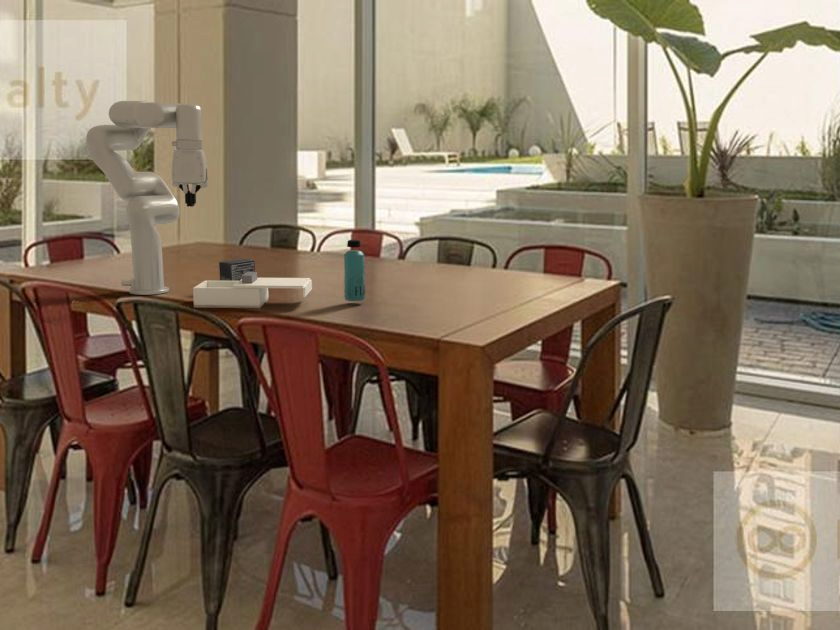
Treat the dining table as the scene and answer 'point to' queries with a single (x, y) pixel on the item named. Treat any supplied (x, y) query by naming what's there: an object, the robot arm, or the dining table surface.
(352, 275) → the beverage bottle
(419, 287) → the dining table surface
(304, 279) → the lid
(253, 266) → the small box
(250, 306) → the base
